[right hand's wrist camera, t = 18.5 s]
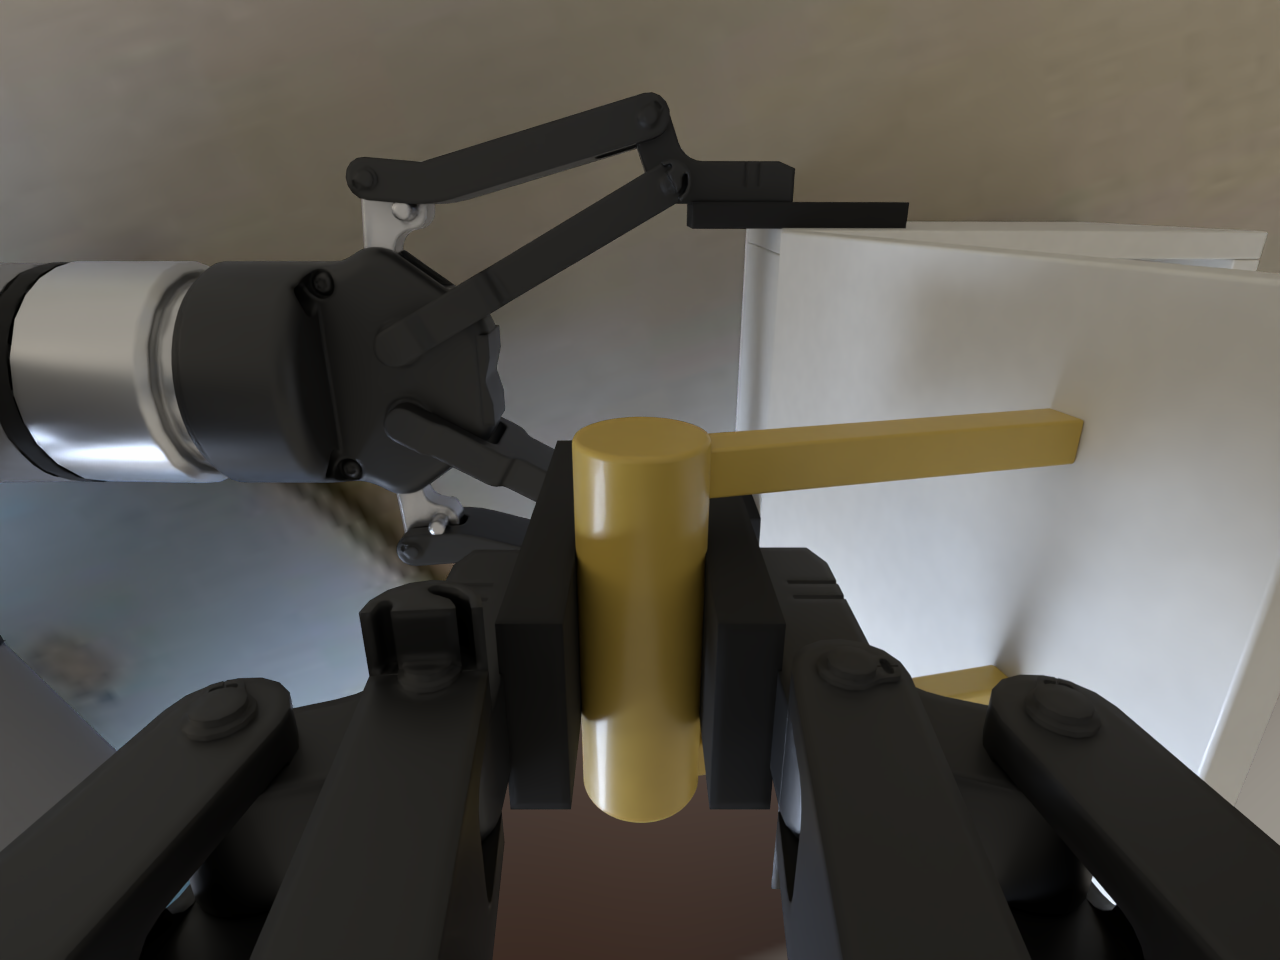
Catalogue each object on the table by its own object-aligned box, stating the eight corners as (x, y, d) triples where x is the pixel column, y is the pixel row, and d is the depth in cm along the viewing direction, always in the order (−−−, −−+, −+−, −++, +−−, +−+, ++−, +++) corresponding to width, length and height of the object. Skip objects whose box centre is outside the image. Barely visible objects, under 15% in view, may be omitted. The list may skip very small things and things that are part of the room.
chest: (1081, 221, 29) (1270, 231, 20) (1032, 450, 32) (1174, 540, 24) (746, 220, 29) (790, 230, 20) (734, 449, 32) (767, 539, 24)
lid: (1449, 287, 7) (631, 316, 5) (1175, 959, 11) (632, 1116, 9) (808, 230, 20) (505, 233, 18) (782, 544, 23) (526, 573, 22)
